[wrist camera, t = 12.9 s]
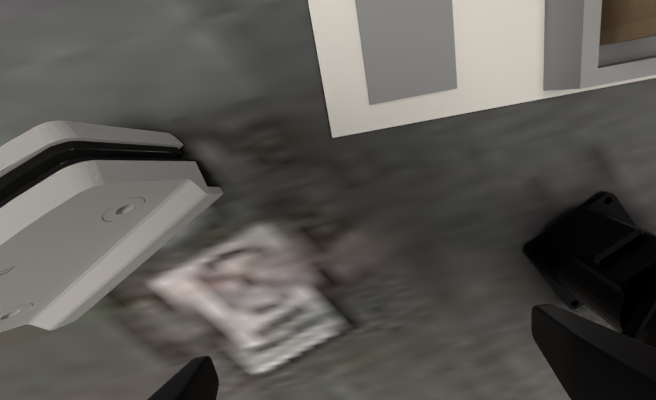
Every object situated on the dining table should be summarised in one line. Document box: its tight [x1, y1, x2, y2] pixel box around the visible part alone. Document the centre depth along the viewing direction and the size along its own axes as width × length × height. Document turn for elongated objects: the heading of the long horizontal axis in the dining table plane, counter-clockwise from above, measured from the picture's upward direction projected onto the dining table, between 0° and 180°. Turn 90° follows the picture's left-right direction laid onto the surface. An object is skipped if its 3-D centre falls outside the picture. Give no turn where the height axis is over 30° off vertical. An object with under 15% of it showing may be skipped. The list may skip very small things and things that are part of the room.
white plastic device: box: [0, 121, 224, 332], centre depth 18 cm, size 17×5×10 cm, turn 129°
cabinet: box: [308, 0, 656, 138], centre depth 16 cm, size 9×24×4 cm, turn 101°
